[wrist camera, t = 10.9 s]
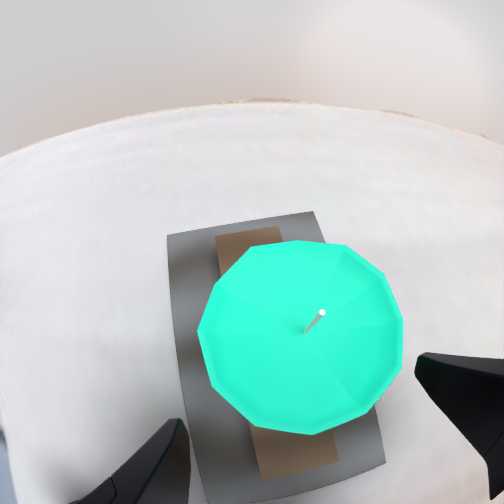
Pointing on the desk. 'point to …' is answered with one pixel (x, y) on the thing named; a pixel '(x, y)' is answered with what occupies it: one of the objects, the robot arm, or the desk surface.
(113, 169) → the desk surface
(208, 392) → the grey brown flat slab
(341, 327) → the candle
